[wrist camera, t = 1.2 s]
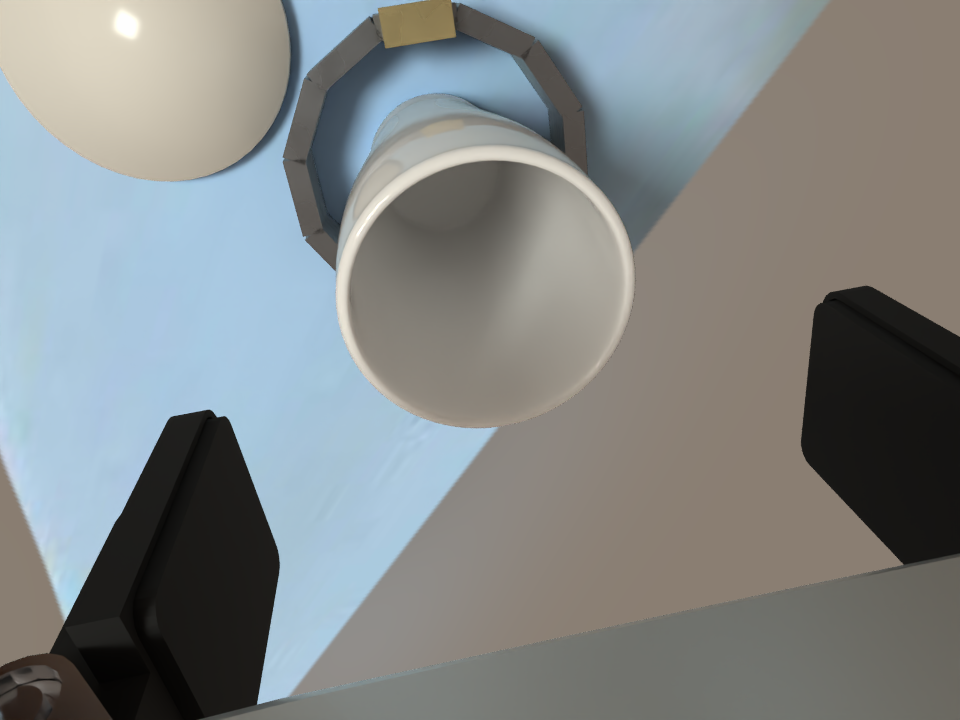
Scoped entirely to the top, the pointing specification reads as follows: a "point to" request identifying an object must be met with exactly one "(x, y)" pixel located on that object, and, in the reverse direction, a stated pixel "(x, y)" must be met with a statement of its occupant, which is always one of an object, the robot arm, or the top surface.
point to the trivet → (150, 78)
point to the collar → (408, 28)
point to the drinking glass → (478, 267)
